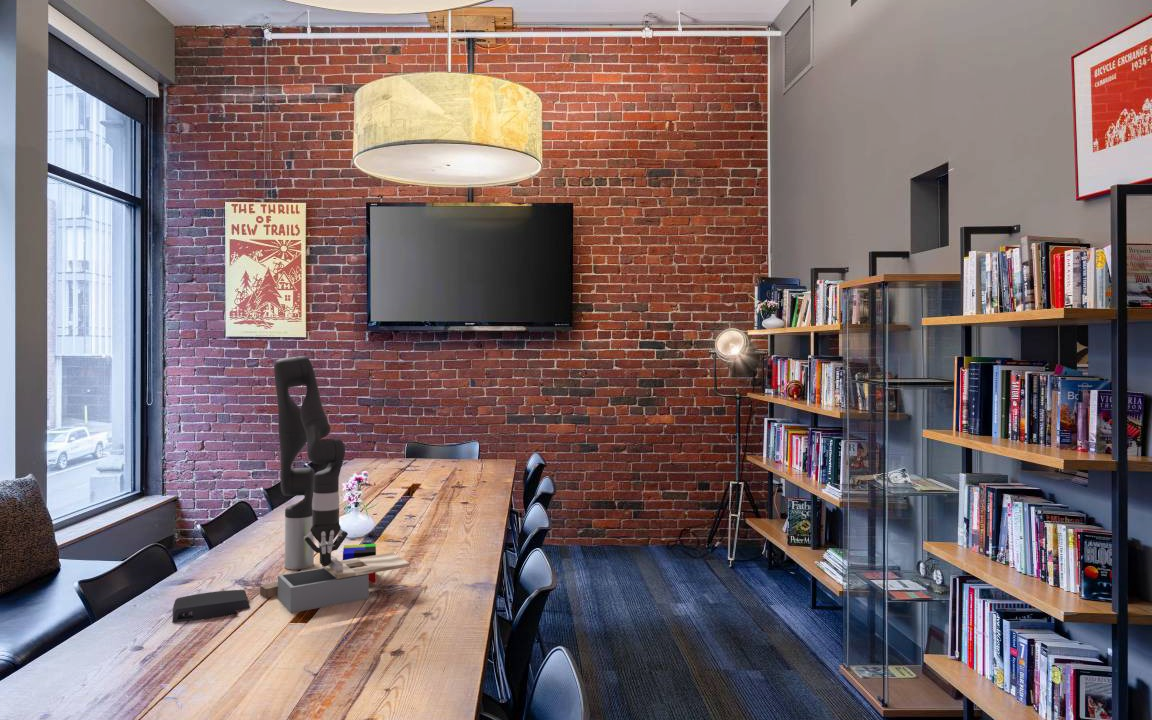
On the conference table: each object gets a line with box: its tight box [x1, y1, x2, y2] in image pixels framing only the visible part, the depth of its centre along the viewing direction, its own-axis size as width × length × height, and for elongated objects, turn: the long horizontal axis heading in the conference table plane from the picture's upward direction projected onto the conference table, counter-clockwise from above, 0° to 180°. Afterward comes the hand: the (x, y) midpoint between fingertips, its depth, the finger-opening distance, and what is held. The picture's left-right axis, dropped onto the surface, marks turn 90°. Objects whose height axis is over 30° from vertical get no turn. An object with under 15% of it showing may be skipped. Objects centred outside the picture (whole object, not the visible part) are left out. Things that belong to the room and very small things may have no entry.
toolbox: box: [277, 566, 370, 614], centre depth 218 cm, size 14×22×8 cm, turn 125°
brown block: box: [259, 581, 278, 599], centre depth 224 cm, size 4×4×15 cm
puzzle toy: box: [342, 543, 377, 584], centre depth 239 cm, size 10×10×10 cm
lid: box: [321, 552, 411, 579], centre depth 225 cm, size 14×22×3 cm, turn 125°
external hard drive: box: [171, 589, 251, 624], centre depth 210 cm, size 13×19×4 cm
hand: (325, 565), depth 219 cm, fingers closed
